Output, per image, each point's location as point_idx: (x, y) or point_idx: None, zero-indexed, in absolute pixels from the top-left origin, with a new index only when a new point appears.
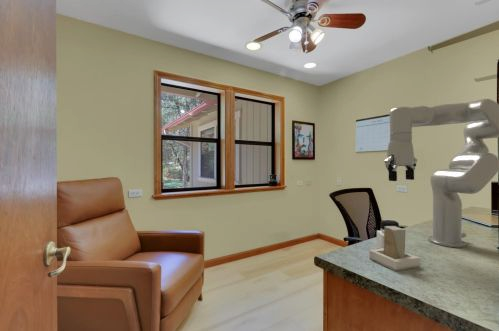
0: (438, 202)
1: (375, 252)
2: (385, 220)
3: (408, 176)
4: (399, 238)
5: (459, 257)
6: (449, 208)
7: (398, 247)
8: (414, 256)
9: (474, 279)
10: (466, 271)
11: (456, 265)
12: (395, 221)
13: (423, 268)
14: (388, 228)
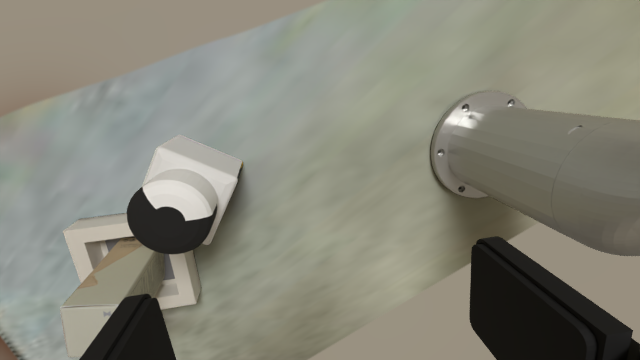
0: (576, 195)
1: (73, 251)
2: (148, 214)
3: (494, 304)
4: None
5: (376, 252)
6: (559, 228)
7: None
8: (187, 294)
9: (270, 352)
10: (297, 321)
11: (310, 292)
12: (190, 236)
13: (203, 296)
14: (63, 328)
